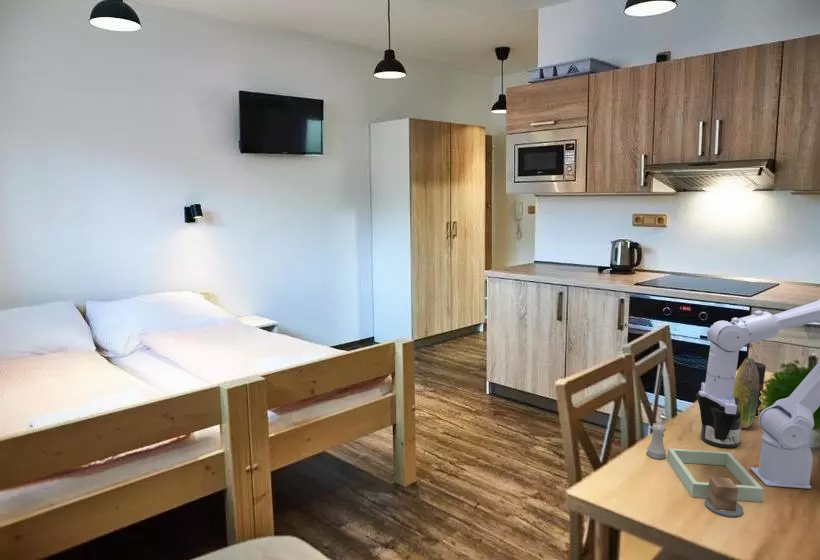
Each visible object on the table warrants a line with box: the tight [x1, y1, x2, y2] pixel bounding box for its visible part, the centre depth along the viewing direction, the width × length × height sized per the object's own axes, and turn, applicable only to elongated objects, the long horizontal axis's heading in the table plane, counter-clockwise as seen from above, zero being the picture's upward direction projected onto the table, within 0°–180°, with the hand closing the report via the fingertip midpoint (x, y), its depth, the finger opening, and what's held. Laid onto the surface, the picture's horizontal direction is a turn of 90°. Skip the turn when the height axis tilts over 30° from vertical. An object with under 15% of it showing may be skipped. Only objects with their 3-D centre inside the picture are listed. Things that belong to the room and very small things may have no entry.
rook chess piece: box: [646, 422, 667, 460], centre depth 142 cm, size 4×4×8 cm
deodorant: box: [741, 361, 767, 416], centre depth 168 cm, size 6×6×15 cm
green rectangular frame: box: [666, 447, 764, 503], centre depth 131 cm, size 14×17×3 cm
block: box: [707, 476, 738, 511], centre depth 119 cm, size 4×4×5 cm
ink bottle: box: [700, 396, 742, 449], centre depth 150 cm, size 10×9×12 cm
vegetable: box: [733, 357, 759, 429], centre depth 159 cm, size 6×6×20 cm
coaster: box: [704, 497, 744, 518], centre depth 119 cm, size 7×7×1 cm
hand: (713, 431), depth 131 cm, fingers open, 7 cm apart
